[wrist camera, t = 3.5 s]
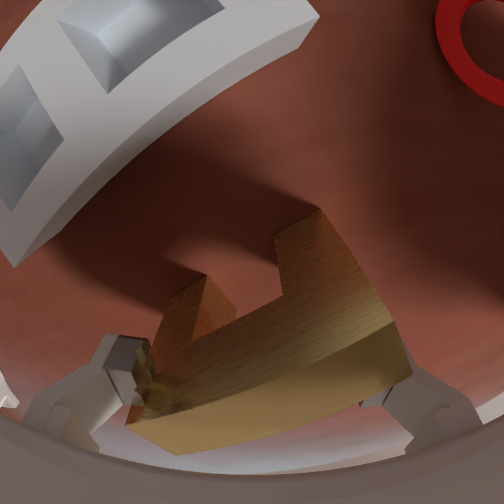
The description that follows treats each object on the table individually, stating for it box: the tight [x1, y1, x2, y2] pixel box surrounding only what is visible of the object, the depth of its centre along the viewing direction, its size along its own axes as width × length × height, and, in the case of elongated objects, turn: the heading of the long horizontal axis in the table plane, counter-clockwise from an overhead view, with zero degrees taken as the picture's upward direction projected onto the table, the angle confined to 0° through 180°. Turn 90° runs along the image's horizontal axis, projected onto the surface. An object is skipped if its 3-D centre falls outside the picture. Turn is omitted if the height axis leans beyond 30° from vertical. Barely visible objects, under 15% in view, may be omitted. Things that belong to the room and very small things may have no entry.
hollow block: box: [0, 0, 320, 268], centre depth 8 cm, size 7×14×4 cm, turn 123°
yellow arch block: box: [125, 208, 413, 455], centre depth 10 cm, size 2×8×8 cm, turn 123°
